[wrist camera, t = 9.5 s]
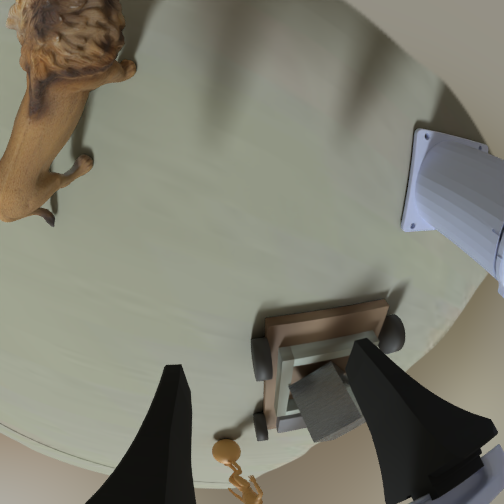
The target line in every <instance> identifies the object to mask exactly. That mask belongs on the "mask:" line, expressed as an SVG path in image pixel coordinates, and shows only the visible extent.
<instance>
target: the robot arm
mask: <svg viewBox="0 0 504 504" xmlns="http://www.w3.org/2000/svg"><path fill="white" fill-rule="evenodd" d="M425 134H426V138H425ZM412 223H413V224H412ZM411 224H412V226H411ZM401 228H402V230H404V231H405V232H411V231H425V230H438V231H439V232H440V233H441V234H443V235H444V236H445V237H447V238H448V239H449V240H451V241H452V242H453V243H454V244H456V245H457V246H458V247H459V248H461V249H462V250H463V251H464V252H465V253H467V254H468V255H469V256H470V257H471V258H473V259H474V260H475V261H476V262H477V263H478V264H480V265H481V266H482V267H483V268H484V269H485V270H486V271H487V272H489V273H490V274H491V275H492V276H493V277H494V278H495V279H496V280H498V282H499V289H498V293H499V294H500V295H501V296H502V297H503V298H504V160H502V159H500V158H498V157H495V156H493V155H491V154H488V146H487V145H485V144H482V143H479V142H476V141H472V140H469V139H465V138H461V137H457V136H453V135H449V134H445V133H441V132H437V131H432V130H427V129H422V128H418V129H416V131H415V134H414V144H413V153H412V162H411V169H410V177H409V183H408V190H407V196H406V201H405V207H404V212H403V217H402V222H401ZM345 371H346V374H347V377H348V381H349V384H350V387H351V390H352V392H353V394H354V396H355V399H356V401H357V403H358V405H359V407H360V410H361V412H362V414H363V416H364V418H365V421H366V423H367V425H368V427H369V430H370V432H371V435H372V439H373V442H374V445H375V449H376V452H377V456H378V460H379V464H380V469H381V474H382V480H383V487H384V495H385V502H386V504H397V503H399V502H402V501H404V500H406V499H408V498H410V497H412V499H413V502H411V503H409V504H489V503H490V502H491V501H492V500H493V499H494V498H495V497H496V496H497V495H498V494H499V493H500V492H501V491H502V490H503V489H504V452H503V450H502V448H501V446H500V445H499V444H498V445H497V446H495V447H494V448H493V449H492V450H490V451H489V452H488V453H487V454H485V455H484V456H482V457H481V458H480V456H479V455H480V454H481V453H482V451H481V449H480V448H481V447H482V446H483V445H485V444H486V443H487V442H488V441H490V440H491V439H492V438H493V437H494V436H496V435H497V434H498V431H497V430H496V427H495V426H494V424H493V422H492V421H491V419H488V418H485V417H482V416H479V415H476V414H473V413H470V412H468V411H465V410H463V409H461V408H459V407H457V406H454V405H453V404H451V403H449V402H447V401H445V400H443V399H441V398H440V397H438V396H437V395H435V394H434V393H432V392H430V391H429V390H428V389H426V388H425V387H423V386H422V385H420V384H419V383H418V382H417V381H415V380H414V379H413V378H411V377H410V376H409V375H408V374H407V373H405V372H404V371H403V370H402V369H401V368H400V367H399V366H397V365H396V364H395V363H394V362H393V361H392V360H391V359H390V358H388V357H387V356H386V355H385V354H384V353H383V352H382V351H381V350H380V349H379V348H378V347H377V346H376V345H374V344H373V343H372V342H371V341H370V340H369V339H368V338H363V339H359V340H355V341H354V344H353V347H352V350H351V353H350V356H349V359H348V362H347V364H346V367H345ZM191 436H192V404H191V391H190V388H189V385H188V383H187V380H186V377H185V374H184V371H183V368H182V365H181V364H179V365H166V366H165V367H164V370H163V374H162V377H161V380H160V383H159V385H158V388H157V391H156V393H155V396H154V398H153V401H152V403H151V406H150V408H149V410H148V413H147V415H146V417H145V419H144V421H143V423H142V425H141V427H140V429H139V431H138V433H137V435H136V437H135V439H134V441H133V442H132V444H131V446H130V447H129V449H128V451H127V452H126V454H125V455H124V457H123V458H122V460H121V462H120V463H119V464H118V466H117V467H116V469H115V470H114V471H113V473H112V474H111V475H110V476H109V478H108V479H107V480H106V481H105V483H104V484H103V485H102V486H101V487H100V489H99V490H98V491H97V492H96V493H95V494H94V495H93V496H92V497H91V498H90V499H89V500H88V501H87V502H86V503H85V504H196V500H195V492H194V485H193V477H192V468H191Z"/></svg>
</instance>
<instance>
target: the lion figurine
mask: <svg viewBox="0 0 504 504" xmlns="http://www.w3.org/2000/svg"><path fill="white" fill-rule="evenodd" d="M121 11H122V7H121V4H120V3H119V0H16V3H15V4H14V5H12V7H11V8H10V10H9V13H8V15H9V16H8V19H7V21H6V27H7V28H8V29H15V30H16V31H17V38H18V40H19V42H20V44H21V45H22V48H21V57H20V61H19V62H20V65H21V67H22V69H23V70H24V71H26V72H27V89H26V93H25V95H24V98H23V100H22V102H21V105H20V107H19V110H18V113H17V115H16V118H15V121H14V126H13V130H12V134H11V137H10V140H9V143H8V145H7V148H6V151H5V153H4V155H3V157H2V159H1V160H0V219H1V220H2V221H3V222H13V221H16V220H18V219H21V218H24V217H27V216H31V215H39V216H42V217H43V218H44V219H45V220H46V222H47V223H49V224H50V225H51V226H52V227H54V222H55V217H54V215H53V214H52V213H51V212H50V211H49V210H47V209H44V208H40V207H41V206H42V205H43V204H44V203H45V202H46V201H47V200H48V199H49V198H50V197H51V196H52V195H53V194H54V193H55V192H56V191H57V190H58V189H59V188H64V187H66V186H68V185H69V184H70V183H71V182H72V181H74V180H75V179H76V178H78V177H80V176H82V175H84V174H86V173H87V172H89V171H90V170H91V168H92V167H93V160H92V158H91V157H89V156H88V155H86V154H82V155H80V156H79V157H78V158H77V159H76V161H75V163H74V165H73V166H72V168H71V169H70V170H68V171H67V172H66V173H64V174H60V173H55V172H49V167H50V165H51V163H52V161H53V160H54V158H55V157H56V156H57V154H58V153H59V152H60V150H61V149H62V148H63V146H64V145H65V144H66V142H67V141H68V140H69V138H70V136H71V135H72V133H73V131H74V129H75V127H76V126H77V124H78V122H79V120H80V117H81V115H82V112H83V110H84V107H85V104H86V101H87V99H88V96H89V92H90V91H91V90H94V89H96V88H98V87H100V86H101V85H104V84H107V83H112V82H113V83H114V82H122V81H125V80H127V79H129V78H131V77H132V76H134V74H135V73H136V65H135V64H134V62H133V61H131V60H126V59H124V60H123V61H121V63H120V64H119V63H118V62H117V61H116V60H115V59H116V58H117V56H118V52H119V51H120V50H121V48H122V47H123V46H124V44H125V42H124V36H123V34H122V30H123V29H124V27H125V19H124V16H123V15H122V12H121Z"/></svg>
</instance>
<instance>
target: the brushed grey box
mask: <svg viewBox="0 0 504 504" xmlns="http://www.w3.org/2000/svg"><path fill="white" fill-rule="evenodd" d="M288 387H289V389H290V392H291V394H292V396H293V398H294V400H295V403H296V405H297V407H298V409H299V411H300V413H301V416H302V418H303V420H304V422H305V424H306V426H307V428H308V431H309V433H310V435H311V437H312V439H313V441H314V442H322V441H329V440H334V439H336V438H338V437H340V436H342V435H343V434H345V433H347V432H349V431H351V430H353V429H354V428H356V427H358V426H360V425H361V424H363V423H365V422H366V421H365V418H364V416H363V414H362V412H361V410H360V407H359V405H358V403H357V401H356V399H355V396H354V394H353V392H352V390H351V387H350V384H349V381H348V377H347V374H346V372H344V371H343V370H342V369H340V368H339V367H338V366H337V365H335V364H334V363H333V362H331V361H330V362H328V363H327V364H325V365H323V366H322V367H320V368H319V369H317V370H315V371H314V372H312V373H310V374H309V375H307V376H305V377H304V378H302V379H300V380H298V381H297V382H295V383H293V384H291V385H290V386H288Z"/></svg>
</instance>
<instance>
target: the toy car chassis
mask: <svg viewBox="0 0 504 504" xmlns="http://www.w3.org/2000/svg"><path fill="white" fill-rule="evenodd" d="M388 308H389V305H388V303H387V302H386V301H385V299H381V300H376V301H371V302H366V303H360V304H355V305H349V306H344V307H338V308H332V309H325V310H319V311H313V312H306V313H299V314H292V315H284V316H277V317H269V318H265V337H264V338H256V339H251V353H252V361H253V368H254V373H255V378H256V381H264V400H263V413H259V414H253V416H254V425H255V431H256V437H257V441H263V440H268V430H267V429H274V428H277V432H278V433H281V432H287V431H292V430H297V429H302V428H307V426H306V424H305V422H304V420H303V418H302V416H301V413H300V411H299V409H298V407H297V405H296V403H295V400H294V398H293V396H292V394H291V392H290V389H289V387H288V386H290V385H291V384H293V383H295V382H297V381H298V380H300V379H302V378H304V377H305V376H307V375H309V374H310V373H312V372H314V371H315V370H317V369H319V368H320V367H322V366H323V365H325V364H327V363H328V362H330V361H331V362H333V363H334V364H335V365H337V366H338V367H339V368H340V369H342V370H343V371H344V372H346V371H345V367H346V364H347V362H348V359H349V356H350V353H351V350H352V347H353V344H354V341H355V340H359V339H363V338H368V339H369V340H370V341H371V342H372V343H373V344H374V345H376V346H378V347H379V349H380V350H381V351H382V352H383V353H385V354H389V353H392V352H396V351H399V350H401V349H402V347H403V345H404V342H405V329H404V326H403V323H402V321H401V319H400V318H399V317H398V316H397V315H394V314H392V315H388V316H386V314H387V311H388Z"/></svg>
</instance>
